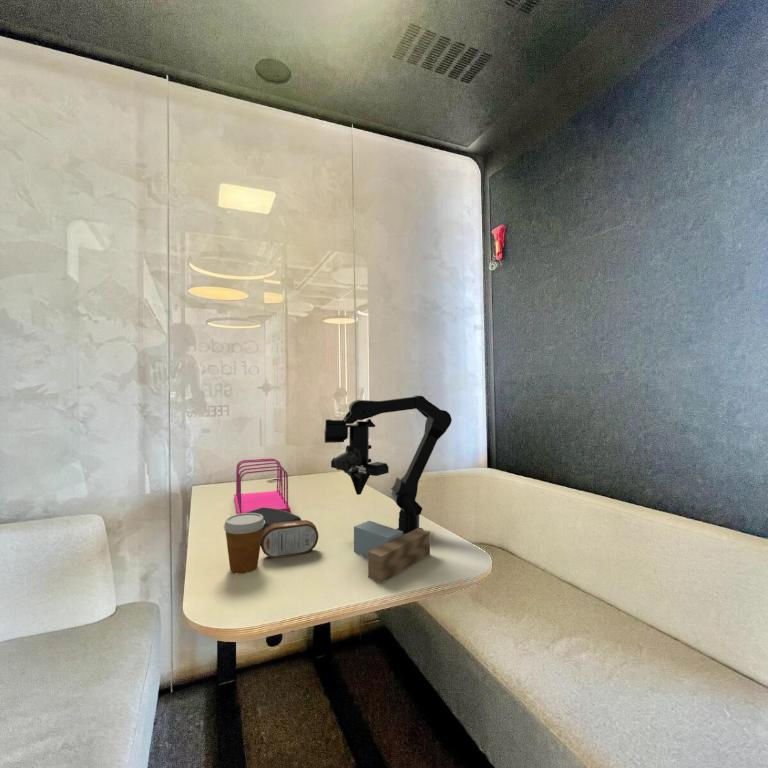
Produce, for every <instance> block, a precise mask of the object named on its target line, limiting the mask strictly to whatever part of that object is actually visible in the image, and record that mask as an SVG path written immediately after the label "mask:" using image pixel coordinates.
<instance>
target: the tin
mask: <svg viewBox="0 0 768 768" xmlns="http://www.w3.org/2000/svg"><path fill="white" fill-rule="evenodd" d="M318 541H319V531H318V529H317V527H316V525H315V524H314V523H313V522H312V521H310V520H306V519H305V520H304V519H301V521H292V522H282V523H274V524H271V525H269V526H268V527H267V528H265V529H264V531H263V532H262V538H261V545H260V550H262V552H263V554H264V555H265V556H267V557H269V558H272V559H273V558H274V559H276V558H277V559H278V558H283V557H291V556H298V555H304V554H308V553H309V552H311V551H312V550H314V548H315V547H316V546H317V543H318Z"/></svg>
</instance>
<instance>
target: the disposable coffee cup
mask: <svg viewBox="0 0 768 768" xmlns="http://www.w3.org/2000/svg"><path fill="white" fill-rule="evenodd" d="M264 524H265V520H264V519H263V516H262V515H261V514H257V513H242V514H237V513H236V514H233V515H230V516H229V517H227V518H226V519H225V522H224V524H223V525H222V527H223V529H224V531H225V537H226V545H227V554H228V555H227V556H228V562H229V570H230V572H231V573H232V572H233V574H236V573H237V575H243V574H248V573H252V572H254V571H255V570H256V569H258V567H259V559H260V550H261V546H260V545H261V538H262V530H263V527H264Z"/></svg>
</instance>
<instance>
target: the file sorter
mask: <svg viewBox="0 0 768 768" xmlns="http://www.w3.org/2000/svg"><path fill="white" fill-rule="evenodd" d="M248 463H251V464H248ZM243 464H245V465H243ZM267 465H268V466H267ZM269 465H270V466H269ZM254 466H255V467H254ZM256 466H259V467H256ZM241 469H242V470H241ZM259 469H262V470H259ZM240 470H241V471H240ZM251 470H253V471H251ZM244 471H246V472H244ZM274 471H277V472H276V490H272V491H271V490H269V491H260V492H259V491H258V492H247V493H242V478H243V477H244V476H245V475H247V474H256V473H264V472H274ZM235 472H236V473H235V475H236V477H235V478H236V479H235V480H236V482H235V494H234V495H233V500H234V505H235V509H236V514H242V513H247V512H250V511H253V510H256V509H259V508H262V507H266V508H273V509H279V510H283V511H286V512H289V513H291V506H290V505H289V475H288V472H287V470H286V469H285V468H284V467H283V466H282V464H281V462H280V461H279V460H277V459H276V458H272V457H271V458H256V459H242V460H240V461H239V462H238V463H237V465H236V471H235Z"/></svg>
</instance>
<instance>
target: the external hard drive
mask: <svg viewBox="0 0 768 768" xmlns="http://www.w3.org/2000/svg"><path fill="white" fill-rule="evenodd" d="M247 513H257V514H261V515H262V516H263V519H264V520H265V524H264V527H263V530H262V532H263V531H264V529H265V528H267V527H268V526H269V525H271V524H274V523H282V522H292V521H301V520H302V519H301V517H300V516H299V515H296V514H294V513H292V512H286V511H283V510H279V509H273V508H266V507H262V508H259V509H256V510H253V511H250V512H247Z"/></svg>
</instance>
